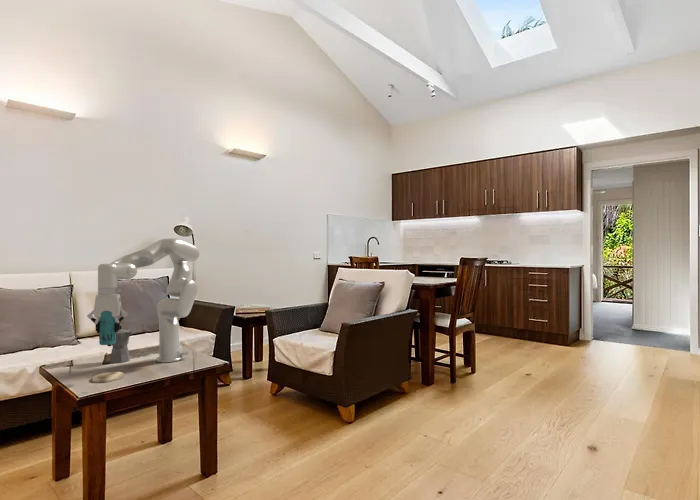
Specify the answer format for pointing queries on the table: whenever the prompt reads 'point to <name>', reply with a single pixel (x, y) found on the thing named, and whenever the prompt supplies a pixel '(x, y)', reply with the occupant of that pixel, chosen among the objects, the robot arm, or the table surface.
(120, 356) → the coffeepot
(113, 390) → the table surface
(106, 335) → the beverage bottle
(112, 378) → the disc
